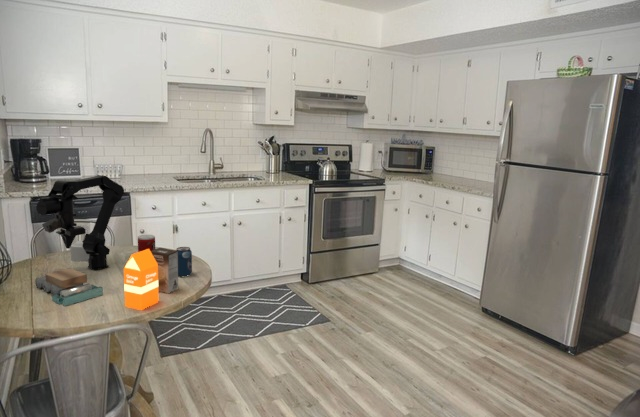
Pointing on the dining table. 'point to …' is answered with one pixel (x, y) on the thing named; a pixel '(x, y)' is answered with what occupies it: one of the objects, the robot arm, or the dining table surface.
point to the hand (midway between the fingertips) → (68, 248)
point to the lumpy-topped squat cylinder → (78, 252)
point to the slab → (66, 278)
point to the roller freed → (75, 290)
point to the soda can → (184, 261)
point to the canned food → (146, 242)
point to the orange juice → (141, 280)
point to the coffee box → (166, 269)
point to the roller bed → (71, 298)
